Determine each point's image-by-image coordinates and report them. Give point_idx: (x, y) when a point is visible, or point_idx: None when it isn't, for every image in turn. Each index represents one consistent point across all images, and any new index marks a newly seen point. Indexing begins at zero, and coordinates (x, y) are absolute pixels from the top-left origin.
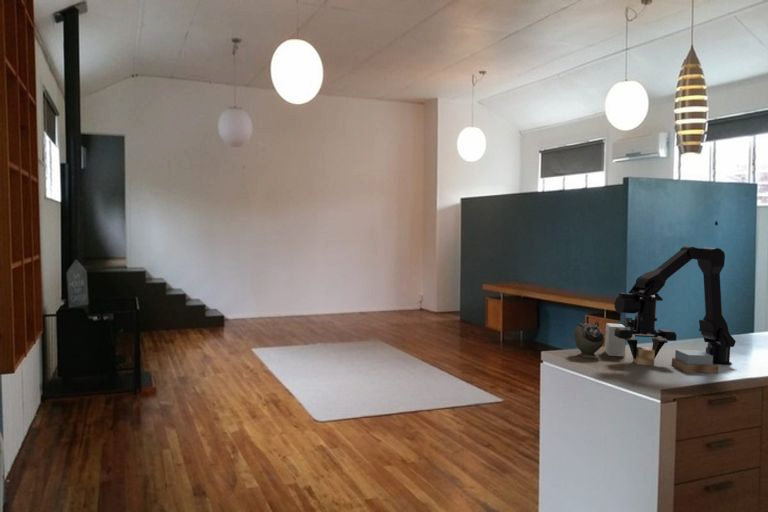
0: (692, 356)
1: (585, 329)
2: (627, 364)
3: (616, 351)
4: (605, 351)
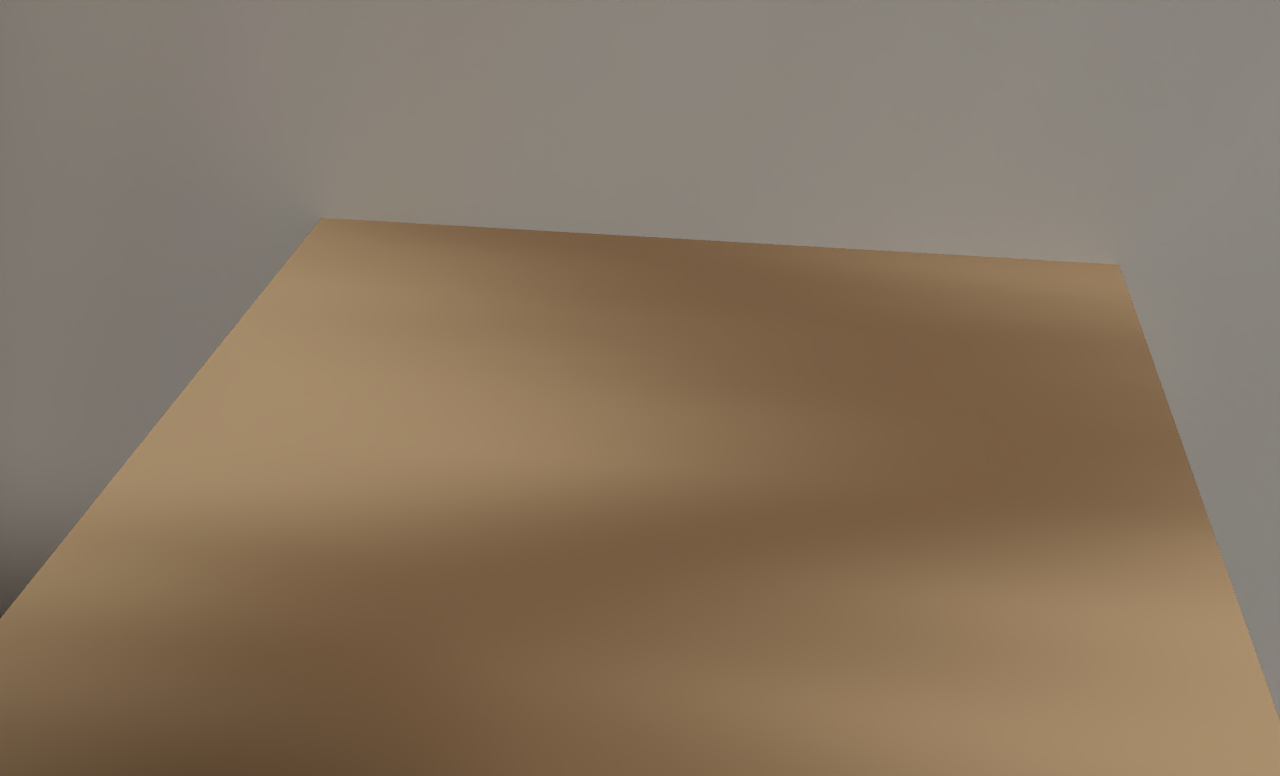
0: None
1: None
2: None
3: None
4: None
